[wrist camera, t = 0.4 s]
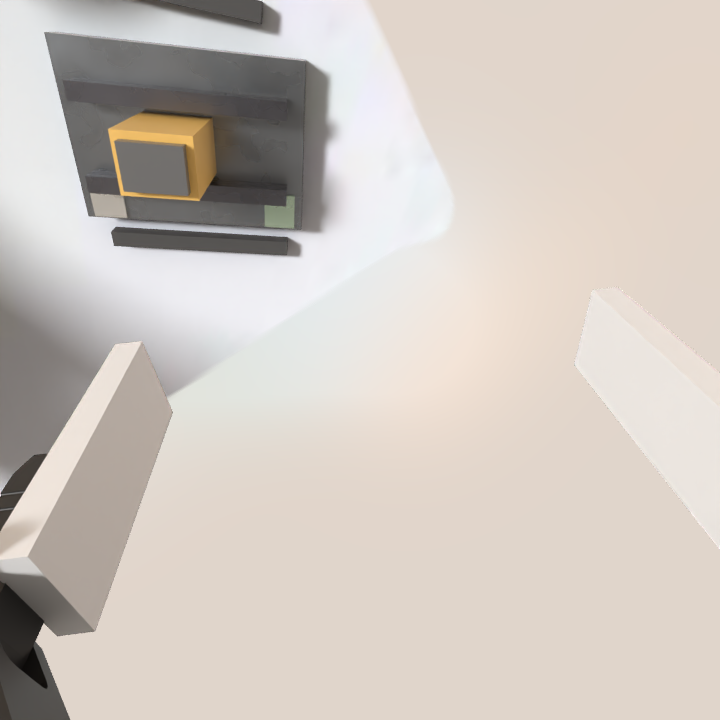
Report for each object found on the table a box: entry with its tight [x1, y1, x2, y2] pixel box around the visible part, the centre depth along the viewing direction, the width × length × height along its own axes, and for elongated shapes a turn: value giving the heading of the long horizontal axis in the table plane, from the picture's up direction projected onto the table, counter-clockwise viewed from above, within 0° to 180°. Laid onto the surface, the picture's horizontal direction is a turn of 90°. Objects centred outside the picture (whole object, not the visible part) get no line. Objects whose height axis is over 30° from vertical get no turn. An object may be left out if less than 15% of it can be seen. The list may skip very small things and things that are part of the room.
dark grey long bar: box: [111, 227, 287, 255], centre depth 33 cm, size 12×1×1 cm, turn 85°
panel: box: [44, 32, 306, 229], centre depth 29 cm, size 14×10×3 cm
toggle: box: [108, 111, 217, 201], centre depth 26 cm, size 4×3×7 cm
